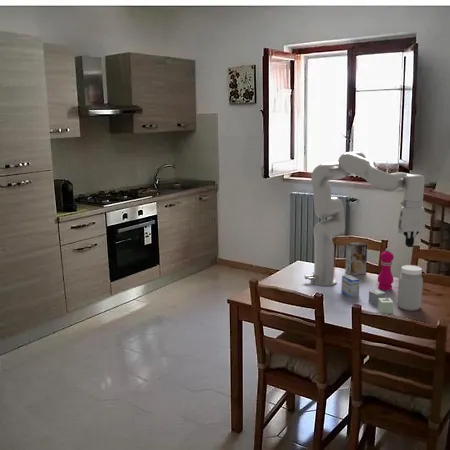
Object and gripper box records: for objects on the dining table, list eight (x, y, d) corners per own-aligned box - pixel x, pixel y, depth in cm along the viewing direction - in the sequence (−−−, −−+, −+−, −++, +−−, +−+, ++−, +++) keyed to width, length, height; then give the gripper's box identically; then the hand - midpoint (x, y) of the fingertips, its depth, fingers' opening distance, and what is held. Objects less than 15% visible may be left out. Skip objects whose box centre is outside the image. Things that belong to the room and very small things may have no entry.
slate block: (376, 305, 220) (376, 294, 219) (368, 301, 225) (369, 290, 224) (385, 303, 222) (385, 292, 221) (377, 299, 227) (378, 289, 226)
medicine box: (340, 292, 236) (341, 275, 234) (348, 291, 237) (349, 274, 235) (351, 298, 228) (352, 280, 227) (359, 297, 230) (360, 279, 228)
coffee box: (360, 270, 268) (362, 241, 265) (366, 274, 262) (367, 244, 259) (344, 271, 266) (346, 242, 263) (350, 275, 260) (351, 245, 257)
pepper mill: (393, 291, 237) (396, 250, 232) (378, 290, 238) (380, 250, 234) (392, 286, 243) (394, 246, 239) (376, 285, 245) (378, 246, 240)
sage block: (381, 313, 211) (381, 302, 210) (377, 308, 216) (378, 297, 215) (392, 313, 211) (393, 301, 210) (389, 308, 216) (389, 297, 215)
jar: (425, 309, 214) (428, 269, 210) (406, 312, 212) (409, 272, 208) (411, 301, 223) (414, 263, 219) (392, 304, 221) (394, 265, 217)
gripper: (400, 206, 204) (397, 249, 208) (434, 205, 206) (430, 247, 210) (391, 203, 211) (388, 244, 215) (424, 201, 213) (420, 243, 218)
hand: (409, 246), depth 213 cm, fingers closed
